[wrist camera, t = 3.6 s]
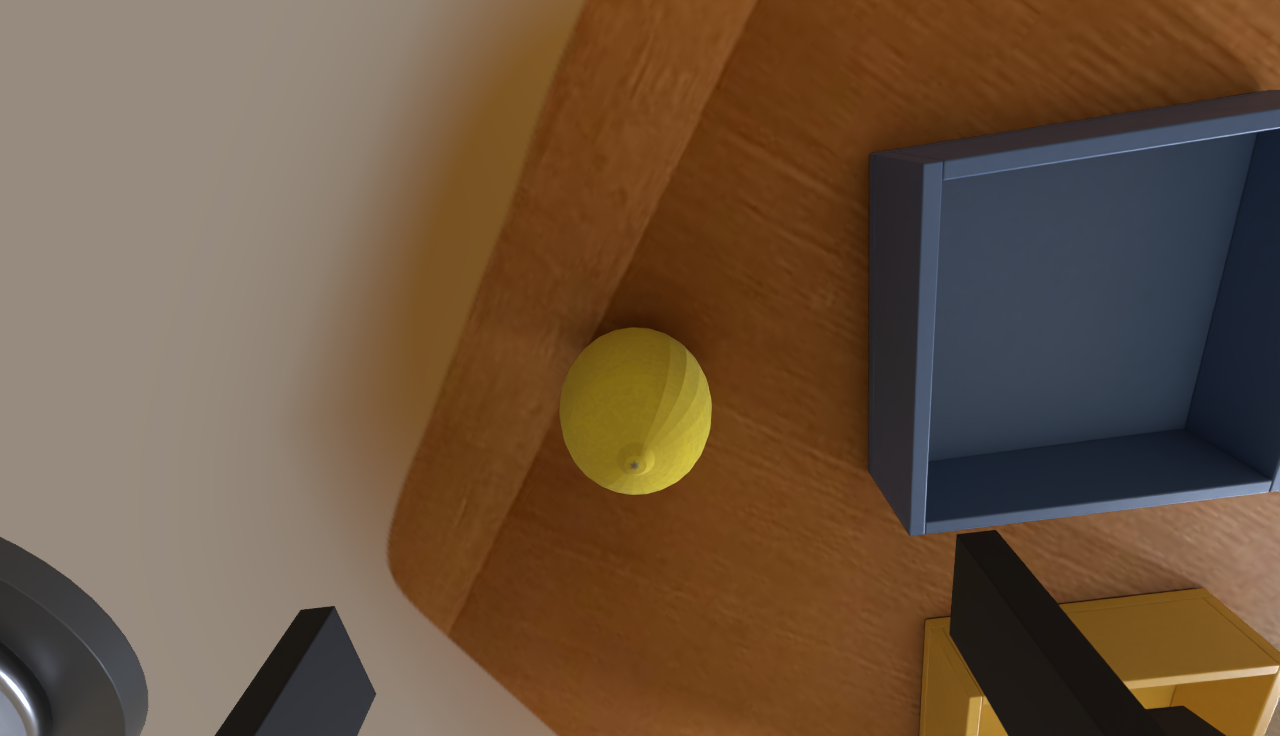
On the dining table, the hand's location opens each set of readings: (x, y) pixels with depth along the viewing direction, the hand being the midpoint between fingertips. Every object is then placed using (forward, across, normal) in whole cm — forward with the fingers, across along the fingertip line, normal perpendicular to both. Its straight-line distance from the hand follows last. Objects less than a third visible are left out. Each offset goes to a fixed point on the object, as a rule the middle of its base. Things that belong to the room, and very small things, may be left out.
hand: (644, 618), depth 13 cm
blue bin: (+14, +17, 0) cm, 22 cm away
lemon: (+14, 0, 0) cm, 14 cm away
